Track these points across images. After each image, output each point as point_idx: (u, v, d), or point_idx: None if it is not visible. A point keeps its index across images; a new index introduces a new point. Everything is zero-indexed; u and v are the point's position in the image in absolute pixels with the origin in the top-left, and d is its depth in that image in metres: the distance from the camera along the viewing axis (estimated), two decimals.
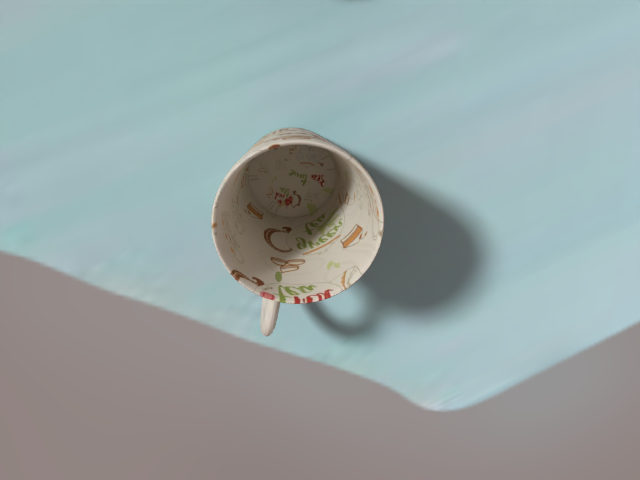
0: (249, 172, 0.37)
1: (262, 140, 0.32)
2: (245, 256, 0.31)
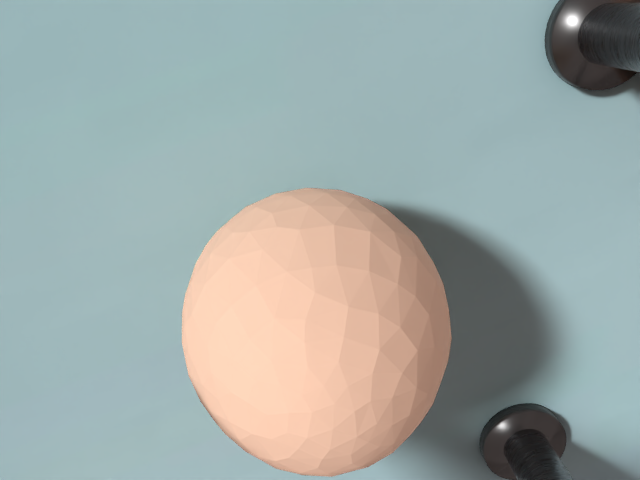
0: None
1: None
2: None
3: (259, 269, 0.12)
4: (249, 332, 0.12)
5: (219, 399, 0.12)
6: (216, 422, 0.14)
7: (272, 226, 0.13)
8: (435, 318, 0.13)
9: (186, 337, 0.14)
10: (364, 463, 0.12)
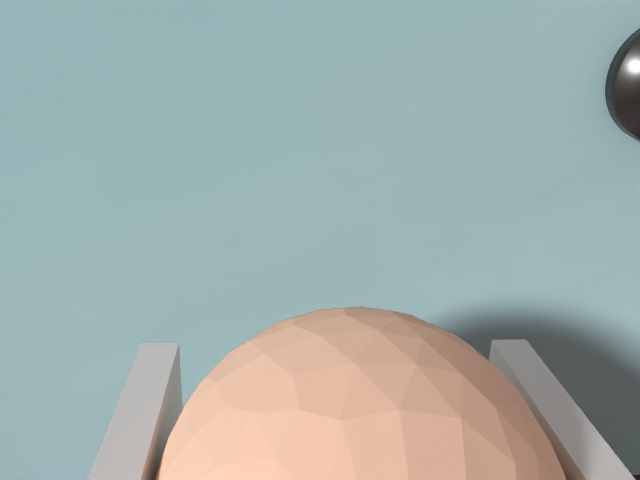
0: None
1: None
2: None
3: None
4: None
5: None
6: None
7: (292, 408, 0.08)
8: None
9: None
10: None
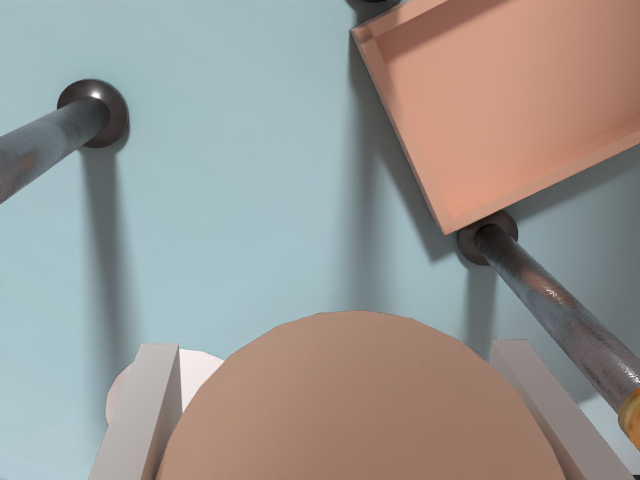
0: None
1: None
2: None
3: None
4: None
5: None
6: None
7: (293, 412, 0.08)
8: None
9: None
10: None
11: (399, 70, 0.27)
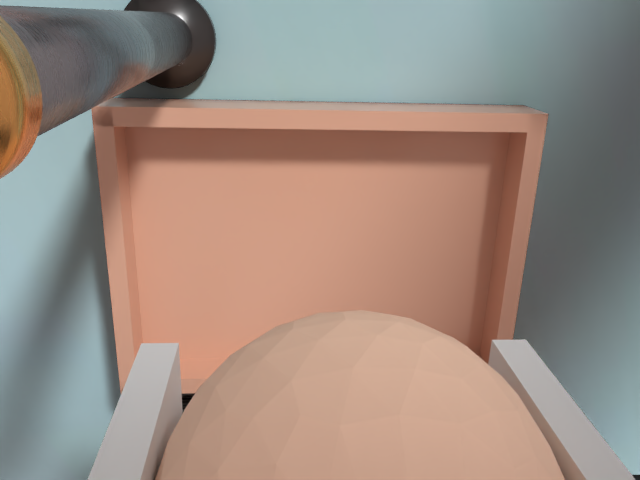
0: None
1: None
2: None
3: None
4: None
5: None
6: None
7: (292, 412, 0.08)
8: None
9: None
10: None
11: (148, 176, 0.20)
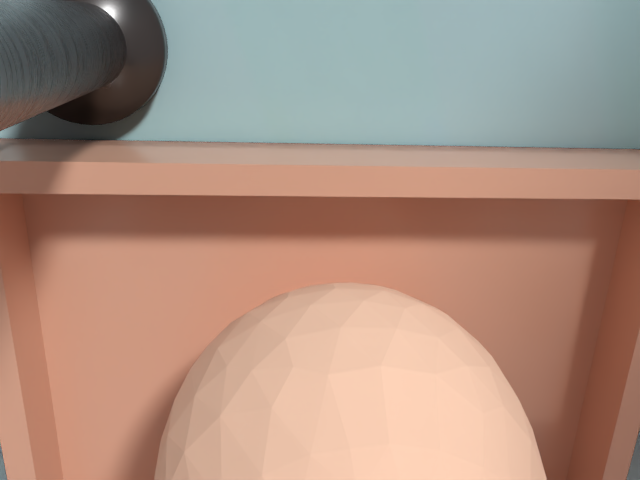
0: None
1: None
2: None
3: (267, 445, 0.08)
4: None
5: None
6: None
7: (286, 365, 0.09)
8: None
9: None
10: None
11: (62, 261, 0.13)
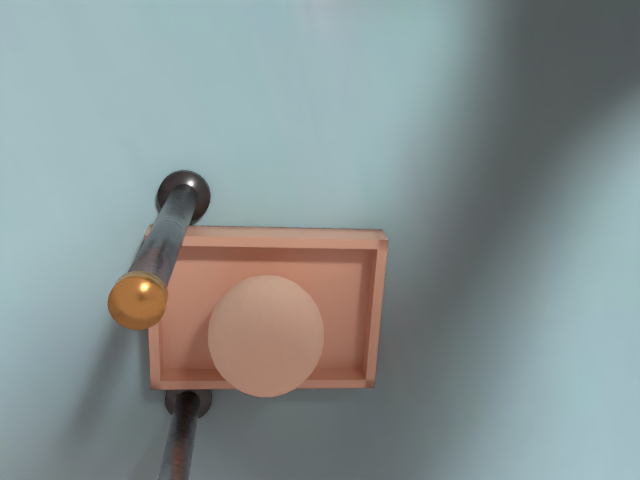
0: None
1: None
2: None
3: (241, 312, 0.32)
4: (237, 336, 0.31)
5: (224, 363, 0.32)
6: (222, 375, 0.33)
7: (246, 294, 0.32)
8: (312, 332, 0.32)
9: (210, 339, 0.33)
10: (281, 389, 0.32)
11: None
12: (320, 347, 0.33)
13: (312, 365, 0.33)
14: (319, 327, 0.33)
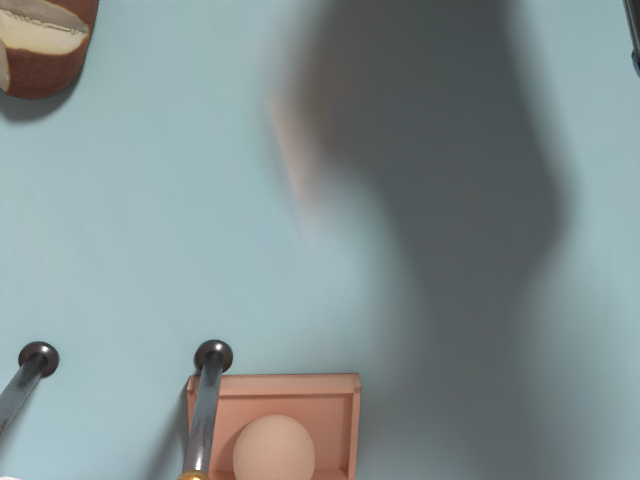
0: None
1: None
2: None
3: (255, 452, 0.46)
4: (253, 470, 0.45)
5: None
6: None
7: (259, 437, 0.47)
8: (305, 463, 0.46)
9: (235, 467, 0.47)
10: None
11: None
12: (311, 470, 0.47)
13: None
14: (310, 457, 0.47)
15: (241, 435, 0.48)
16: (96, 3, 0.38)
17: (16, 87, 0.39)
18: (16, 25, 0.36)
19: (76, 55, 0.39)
